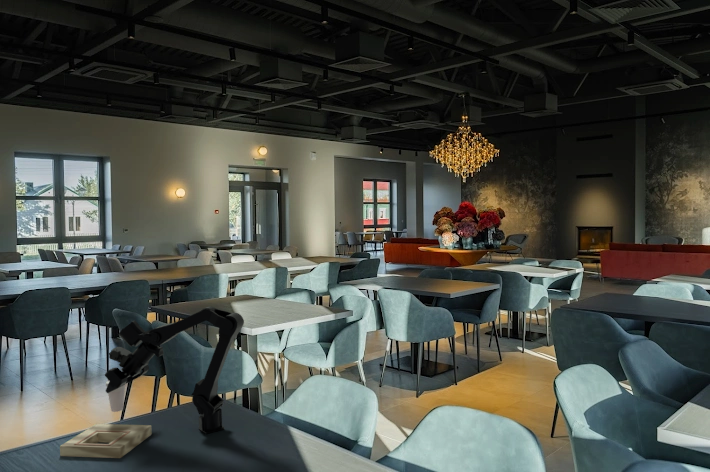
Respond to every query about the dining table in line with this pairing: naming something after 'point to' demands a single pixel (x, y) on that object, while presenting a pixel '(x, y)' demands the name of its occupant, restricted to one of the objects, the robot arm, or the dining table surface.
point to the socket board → (114, 434)
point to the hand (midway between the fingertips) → (112, 389)
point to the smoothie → (116, 398)
